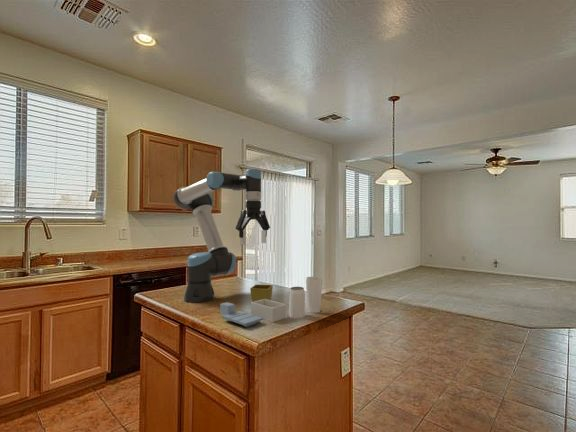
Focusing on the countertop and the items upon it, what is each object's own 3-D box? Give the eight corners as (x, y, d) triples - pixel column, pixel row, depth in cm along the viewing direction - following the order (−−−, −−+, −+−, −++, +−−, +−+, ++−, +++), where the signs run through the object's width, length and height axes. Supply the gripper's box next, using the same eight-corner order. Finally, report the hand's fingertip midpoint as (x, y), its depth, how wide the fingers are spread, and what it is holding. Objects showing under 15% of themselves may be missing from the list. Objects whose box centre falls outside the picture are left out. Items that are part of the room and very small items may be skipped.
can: (288, 314, 133) (288, 286, 133) (303, 314, 133) (303, 286, 134) (290, 319, 126) (290, 289, 127) (306, 319, 127) (306, 289, 127)
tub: (250, 316, 130) (250, 302, 130) (264, 312, 136) (264, 298, 136) (272, 323, 121) (272, 308, 121) (286, 319, 127) (286, 304, 127)
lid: (214, 320, 126) (214, 305, 126) (232, 315, 133) (232, 301, 133) (244, 331, 113) (244, 314, 113) (263, 325, 120) (263, 309, 120)
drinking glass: (317, 315, 132) (317, 279, 132) (303, 313, 135) (303, 278, 136) (324, 311, 138) (324, 277, 138) (310, 309, 141) (310, 275, 141)
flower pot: (268, 308, 142) (268, 288, 143) (249, 307, 144) (249, 288, 144) (273, 303, 151) (272, 285, 151) (255, 302, 153) (255, 284, 153)
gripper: (238, 199, 142) (238, 245, 142) (276, 201, 161) (276, 242, 160) (228, 199, 147) (228, 244, 147) (266, 202, 166) (266, 242, 165)
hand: (253, 243), depth 154 cm, fingers open, 13 cm apart
